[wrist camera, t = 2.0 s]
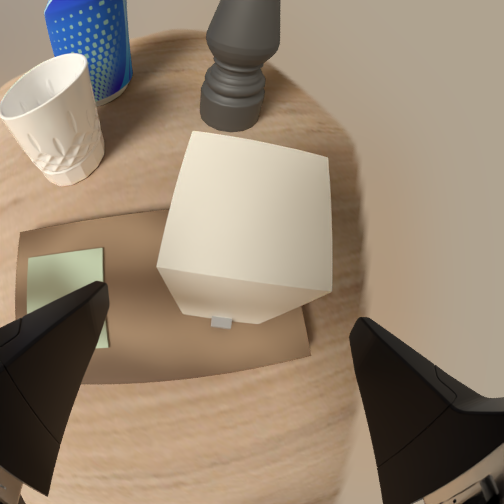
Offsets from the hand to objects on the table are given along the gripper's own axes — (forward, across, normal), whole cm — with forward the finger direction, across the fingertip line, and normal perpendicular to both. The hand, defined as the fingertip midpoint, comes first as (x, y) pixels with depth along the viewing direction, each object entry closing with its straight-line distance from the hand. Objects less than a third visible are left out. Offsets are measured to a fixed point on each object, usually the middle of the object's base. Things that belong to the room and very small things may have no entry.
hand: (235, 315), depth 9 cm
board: (+8, +6, +6) cm, 12 cm away
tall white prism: (+9, 0, +4) cm, 10 cm away
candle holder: (+23, +2, -7) cm, 24 cm away
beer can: (+25, +18, -9) cm, 32 cm away
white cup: (+17, +16, -2) cm, 24 cm away
